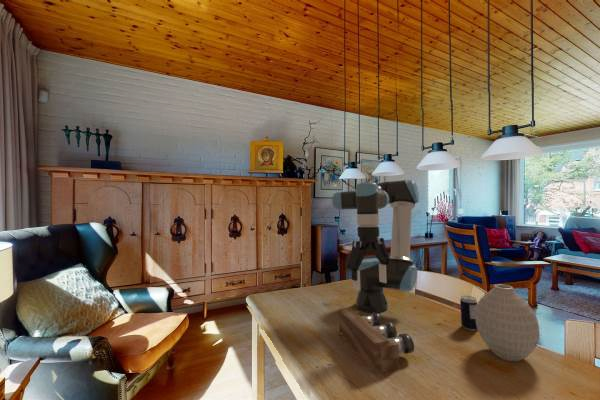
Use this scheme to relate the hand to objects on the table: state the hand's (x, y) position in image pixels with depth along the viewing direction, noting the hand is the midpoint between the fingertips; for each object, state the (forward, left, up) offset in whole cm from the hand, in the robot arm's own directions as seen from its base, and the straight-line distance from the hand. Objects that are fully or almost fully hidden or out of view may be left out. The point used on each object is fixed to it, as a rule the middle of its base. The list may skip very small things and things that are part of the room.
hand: (370, 285), depth 91 cm
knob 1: (-4, -9, -20) cm, 22 cm away
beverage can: (-43, 0, -22) cm, 48 cm away
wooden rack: (+2, 0, -22) cm, 22 cm away
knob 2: (-4, 0, -20) cm, 20 cm away
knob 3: (-4, +9, -20) cm, 22 cm away
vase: (-38, +18, -22) cm, 47 cm away
